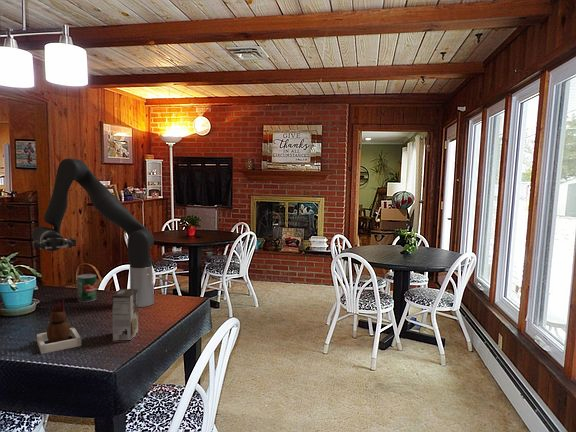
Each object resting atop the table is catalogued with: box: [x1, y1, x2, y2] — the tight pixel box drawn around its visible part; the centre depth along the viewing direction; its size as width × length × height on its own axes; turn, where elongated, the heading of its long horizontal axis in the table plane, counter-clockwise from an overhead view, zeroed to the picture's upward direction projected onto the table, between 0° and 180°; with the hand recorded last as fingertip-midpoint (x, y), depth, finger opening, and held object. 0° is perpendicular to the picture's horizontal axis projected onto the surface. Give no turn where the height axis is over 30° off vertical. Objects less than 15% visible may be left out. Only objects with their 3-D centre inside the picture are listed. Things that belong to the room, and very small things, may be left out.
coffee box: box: [111, 288, 139, 342], centre depth 143 cm, size 9×6×16 cm
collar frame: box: [36, 327, 82, 355], centre depth 136 cm, size 11×12×2 cm
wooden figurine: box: [46, 299, 71, 343], centre depth 136 cm, size 7×6×15 cm
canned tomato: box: [76, 273, 97, 303], centre depth 185 cm, size 8×8×11 cm
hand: (57, 246), depth 151 cm, fingers open, 8 cm apart
